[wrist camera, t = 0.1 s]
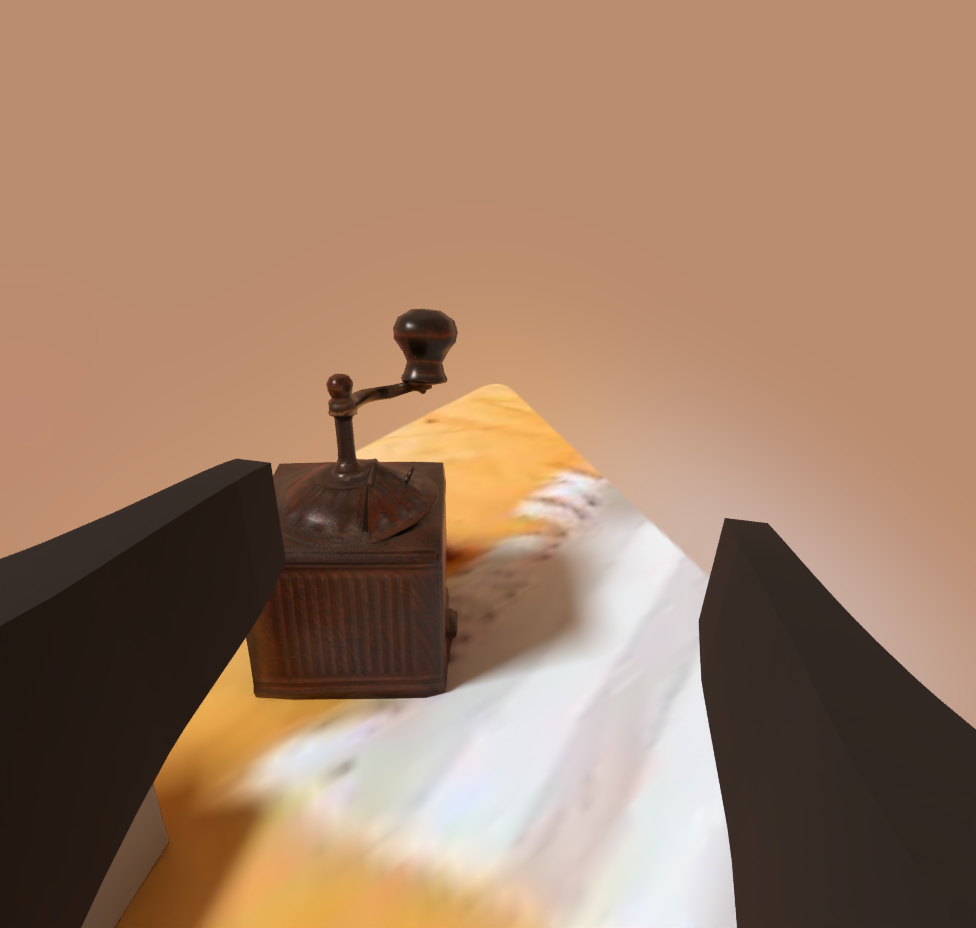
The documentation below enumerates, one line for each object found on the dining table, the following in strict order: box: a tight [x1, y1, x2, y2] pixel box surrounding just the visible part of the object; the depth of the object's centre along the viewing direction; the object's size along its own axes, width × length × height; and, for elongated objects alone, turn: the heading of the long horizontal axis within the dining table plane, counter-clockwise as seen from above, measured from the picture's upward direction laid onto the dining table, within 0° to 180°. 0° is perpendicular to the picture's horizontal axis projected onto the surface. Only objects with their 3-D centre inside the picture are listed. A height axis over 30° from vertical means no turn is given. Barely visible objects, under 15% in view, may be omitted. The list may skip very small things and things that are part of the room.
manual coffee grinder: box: [246, 309, 458, 699], centre depth 39 cm, size 16×11×18 cm
